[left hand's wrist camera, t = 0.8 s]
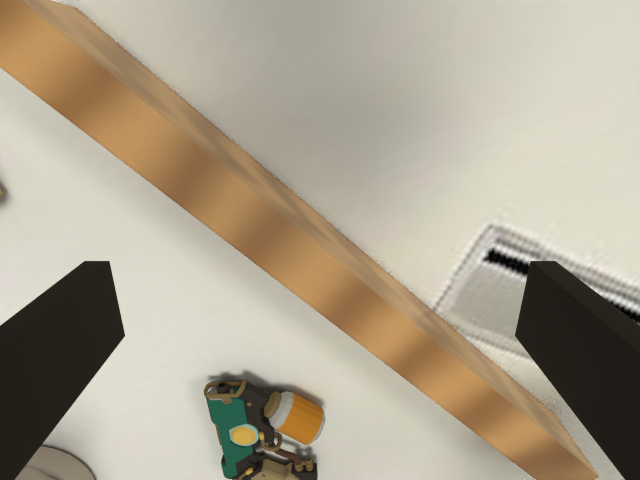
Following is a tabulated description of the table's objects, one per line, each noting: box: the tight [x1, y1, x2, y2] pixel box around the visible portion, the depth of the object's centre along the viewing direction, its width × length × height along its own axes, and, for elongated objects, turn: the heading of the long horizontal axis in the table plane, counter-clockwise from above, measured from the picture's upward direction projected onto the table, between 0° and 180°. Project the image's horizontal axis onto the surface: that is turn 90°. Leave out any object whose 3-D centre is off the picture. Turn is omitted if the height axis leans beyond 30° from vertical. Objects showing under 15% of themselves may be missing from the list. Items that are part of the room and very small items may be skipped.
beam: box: [0, 0, 599, 480], centre depth 37 cm, size 64×5×8 cm, turn 48°
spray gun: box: [204, 379, 325, 480], centre depth 47 cm, size 4×17×15 cm
